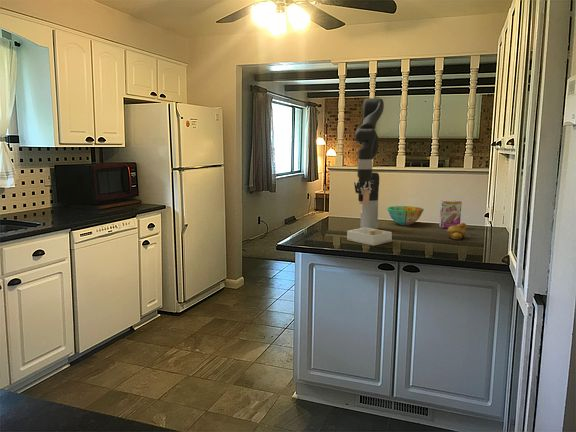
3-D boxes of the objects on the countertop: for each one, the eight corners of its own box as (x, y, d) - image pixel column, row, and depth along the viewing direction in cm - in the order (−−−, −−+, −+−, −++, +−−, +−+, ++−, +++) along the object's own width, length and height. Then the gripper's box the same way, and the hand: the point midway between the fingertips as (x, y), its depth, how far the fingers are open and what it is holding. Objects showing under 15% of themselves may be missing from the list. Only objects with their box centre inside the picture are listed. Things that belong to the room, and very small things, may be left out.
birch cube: (368, 240, 237) (368, 230, 236) (374, 238, 240) (374, 229, 239) (376, 241, 233) (376, 231, 232) (382, 240, 236) (382, 230, 236)
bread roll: (463, 241, 238) (464, 226, 237) (444, 239, 243) (444, 224, 242) (466, 236, 250) (467, 222, 248) (448, 235, 254) (448, 221, 253)
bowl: (388, 220, 302) (389, 205, 300) (424, 222, 295) (424, 206, 293) (384, 226, 281) (384, 210, 280) (421, 228, 274) (422, 211, 272)
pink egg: (357, 203, 240) (357, 190, 239) (363, 202, 243) (363, 189, 242) (364, 204, 236) (365, 190, 235) (371, 203, 239) (371, 190, 238)
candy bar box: (440, 228, 274) (442, 201, 271) (439, 226, 279) (440, 200, 276) (460, 228, 273) (461, 201, 270) (458, 227, 277) (459, 200, 275)
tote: (347, 240, 242) (347, 230, 241) (365, 236, 251) (365, 227, 250) (373, 245, 229) (373, 235, 228) (391, 241, 238) (391, 232, 237)
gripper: (368, 167, 244) (367, 199, 247) (350, 168, 235) (349, 201, 238) (379, 167, 239) (378, 200, 241) (361, 169, 229) (360, 202, 232)
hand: (364, 200), depth 240 cm, fingers closed on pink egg, 5 cm apart
